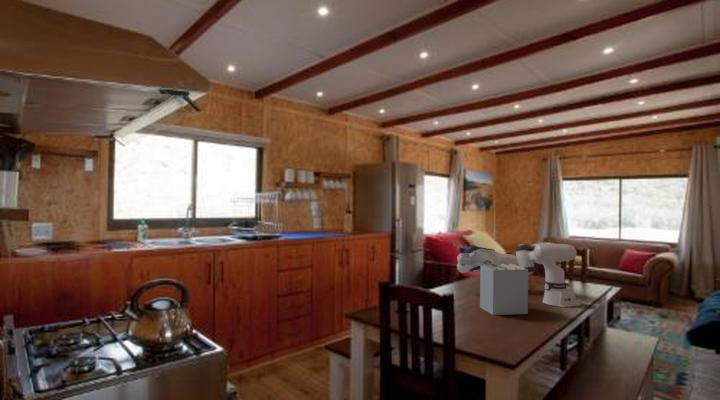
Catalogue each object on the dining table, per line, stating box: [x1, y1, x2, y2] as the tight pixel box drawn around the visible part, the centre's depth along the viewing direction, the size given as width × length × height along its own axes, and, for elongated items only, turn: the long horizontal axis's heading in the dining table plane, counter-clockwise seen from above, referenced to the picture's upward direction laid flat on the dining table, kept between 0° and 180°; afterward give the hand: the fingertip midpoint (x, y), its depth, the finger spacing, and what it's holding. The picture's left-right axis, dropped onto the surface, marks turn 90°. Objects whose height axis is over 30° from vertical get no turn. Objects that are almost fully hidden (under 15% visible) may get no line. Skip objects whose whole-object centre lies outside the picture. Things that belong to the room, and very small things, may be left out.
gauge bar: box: [473, 251, 493, 261], centre depth 240 cm, size 3×20×3 cm, turn 9°
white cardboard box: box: [479, 263, 529, 316], centre depth 227 cm, size 22×16×27 cm
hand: (477, 252), depth 247 cm, fingers closed on gauge bar, 3 cm apart
